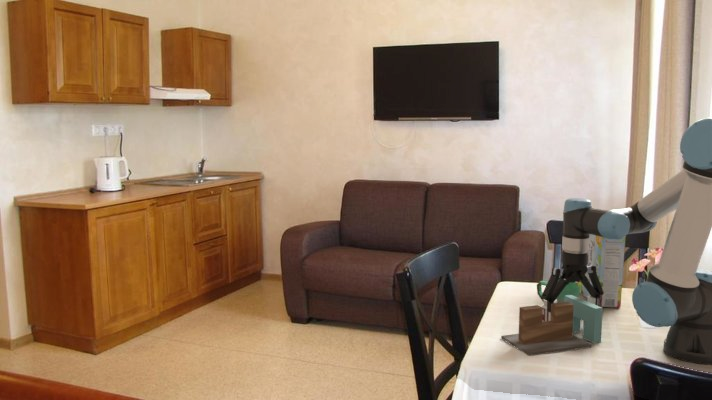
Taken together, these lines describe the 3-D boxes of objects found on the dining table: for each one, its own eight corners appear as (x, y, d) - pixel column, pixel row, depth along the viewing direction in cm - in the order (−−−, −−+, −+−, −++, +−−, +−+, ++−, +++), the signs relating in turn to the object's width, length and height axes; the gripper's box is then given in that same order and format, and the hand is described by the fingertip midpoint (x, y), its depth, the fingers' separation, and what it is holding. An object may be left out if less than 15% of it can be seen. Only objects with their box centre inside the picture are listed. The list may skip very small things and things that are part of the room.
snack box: (623, 308, 213) (627, 232, 210) (597, 308, 213) (601, 232, 210) (599, 290, 235) (602, 221, 231) (575, 290, 235) (578, 221, 231)
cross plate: (600, 342, 181) (602, 307, 180) (593, 343, 180) (595, 308, 179) (570, 326, 194) (571, 294, 193) (563, 327, 194) (564, 295, 192)
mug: (585, 314, 207) (586, 284, 205) (570, 320, 200) (571, 289, 199) (544, 304, 217) (545, 276, 216) (528, 310, 211) (529, 281, 209)
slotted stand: (591, 347, 177) (593, 309, 176) (528, 355, 171) (530, 316, 170) (560, 331, 190) (561, 295, 189) (501, 338, 184) (502, 302, 183)
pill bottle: (560, 326, 195) (561, 299, 194) (553, 329, 192) (554, 302, 191) (545, 322, 198) (546, 296, 197) (538, 326, 195) (539, 299, 194)
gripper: (601, 245, 196) (597, 312, 199) (531, 250, 188) (528, 320, 191) (618, 250, 189) (614, 319, 192) (546, 256, 181) (543, 328, 184)
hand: (571, 320), depth 192 cm, fingers open, 13 cm apart
